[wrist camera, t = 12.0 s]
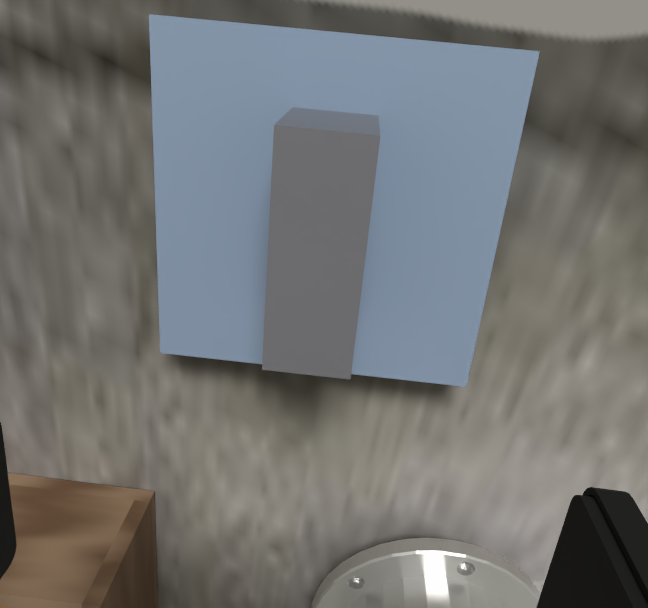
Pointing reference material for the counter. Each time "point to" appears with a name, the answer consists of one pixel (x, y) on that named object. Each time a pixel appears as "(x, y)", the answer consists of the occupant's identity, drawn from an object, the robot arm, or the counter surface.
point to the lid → (329, 195)
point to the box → (80, 546)
